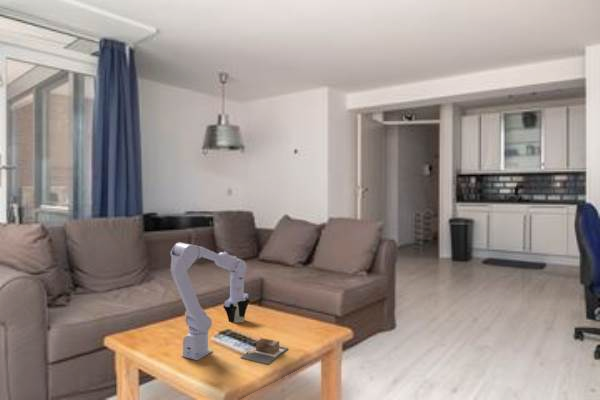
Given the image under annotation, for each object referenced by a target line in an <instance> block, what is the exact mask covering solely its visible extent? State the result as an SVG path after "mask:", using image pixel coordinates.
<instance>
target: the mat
mask: <svg viewBox="0 0 600 400" xmlns="http://www.w3.org/2000/svg"><path fill="white" fill-rule="evenodd" d="M288 350H289V348H288V347H283V346H280V345H279V351H278V352H276V353H275V354H274V355H273V354H268V353H264V352H259V351H255V352H254V353H250V354H246V353H245V354H243V355H241V356H240V359H243V360H247V361H251V362H255V363H259V364H263V365H268V366H269V365H270V364H271V363H272V362H274V361H275V360H276V359H277V358H279V357H280V356H281V355H283V354H284V353H285V352H286V351H288Z"/></svg>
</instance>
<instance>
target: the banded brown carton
mask: <svg viewBox="0 0 600 400" xmlns="http://www.w3.org/2000/svg"><path fill="white" fill-rule="evenodd" d="M279 346H280V341H279V340H273V339H272V340H271V339H269V338H263V337H262V338H260V339H258V340H257V341H255V348H256V351H259V352H264V353H268V354H273V355H274V354H275V353H276V352H278V351H279Z"/></svg>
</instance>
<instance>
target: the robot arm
mask: <svg viewBox="0 0 600 400" xmlns="http://www.w3.org/2000/svg"><path fill="white" fill-rule="evenodd" d="M169 254H170V257H171V260H170V273H171V276H172V278H173V281H174V284H175V286H176V288H177V291H178V293H179V296H180V298H181V300H182V303H183V304H184V308H185V312H184V316H185V324H186V326H188V333H187V334H186V335H185V337H184V338H183V339H182V354H181V357H183V358H186V359H187V358H188V359H190V360H194V361H199V360H200V359H202V358H204V357H205V356H207V355H209V354H211V353H212V352H213V349H209V330H210V329H211V328H212V324H213V323H212V322H213V321H212V318H211V317H209V316H208V314H207V313H206V311H205V310H204V309H203V308H202V306H201V304H200V302H199V299H198V297H197V294H196V291H195V289H194V287H193V284H192V281H191V279H190V276H189V274H188V270H189V269H190V267H191V266H192V265H193V264H194V263H195V261H196V260H197V259H200V258H204V259H208V260H210V261H214V263H215V265H216V266H218V267H220V268H222V269H225V270H228V271H229V275H230V276H229V287H230V288H229V298H228V299H227V300H225V301H224V304H223V309H224V311H225V313H226V316H227V320H228V322H229V323H231V322H232V323H233V322H234V319H235V311H236V309H237V307H236V306H234V305H233V304H235V303H238V308H239V316H240V317H244V316H245V317H246V312H247V308H248V306H249V304H250V301H251V300H250V299H249V293H245V275H246V271H247V269H248V265H247V264H246V263H247V262H246V261H245V260H243V259H240V258H238V257H237V256H236V255H230V254H229V252H227V251H223V252H221V251H220V252H219V253H218V252H215V251H212V250H210V249H208V248H205V247H204V246H199V245H194V244H190V243H185V242H183V241H179V242H177V243H175V244H174V246H173V247H172V248H171V250H170V252H169Z"/></svg>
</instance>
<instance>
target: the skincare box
mask: <svg viewBox="0 0 600 400" xmlns="http://www.w3.org/2000/svg"><path fill="white" fill-rule="evenodd" d="M233 305H234V306H236V307H237V309H236V311H235V319H234V322H233V323H235V324H236V323H244V322H245V320H246V318H245V317H246V315H245V316H244V317H240V316H239V308H238V303H235V304H233ZM230 323H232V322H230Z"/></svg>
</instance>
